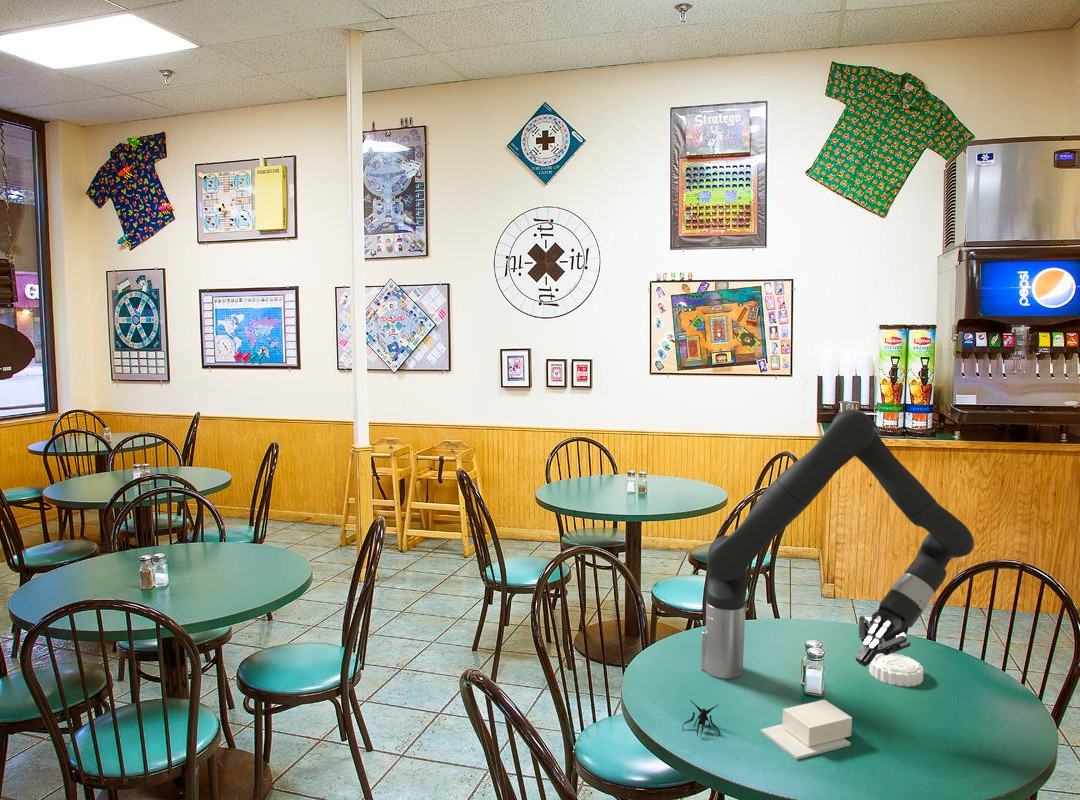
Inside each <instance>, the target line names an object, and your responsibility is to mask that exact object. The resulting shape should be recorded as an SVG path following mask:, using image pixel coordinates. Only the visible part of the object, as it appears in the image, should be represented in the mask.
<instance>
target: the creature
mask: <svg viewBox="0 0 1080 800" xmlns="http://www.w3.org/2000/svg"><path fill="white" fill-rule="evenodd" d="M690 702H691V703H692V704H693V705H694V706H695V707H696V709H697V710H698V711H699V715H698V716H697V718H696V719H695V714H696V713H695V712H694V711H693V712H692V716H691V718H690V719H688V720H687V721H685V722H684V723H683V724H682V727H681V728H682V731H684V732H686V730H685V729H684V725H685V724H687V723H691V722H693V721H694V719H695V723H694V725H692V727H693V726H694V727H695V726H696V729H695V728H693V729H692V731H696V737H698V734H699V729H700V726H701V730H700V736H702V733H703V731H704V726H706V722H708V727H709V729H710V730H709V731H707V733H709V734H710V735H711V736H713V734H712V733H711V730H712V728H711V725H712V726H713V727H714V728H716V730H717V731H718V735H717V736H716V738H718V737H719V736H720V735H721V730H720V729H719V728H718V726H717V725H716V724H715V723H713V720H712V715H711V714H710V715H709V713H710V712H712V710H714V709H715V708H716V707H718V706H719V704H717V705H715V706H713V707H710V708H709V709H707V710H706V708H700V706H698V705H697V704H696V703H695V702H693V701H692V700H690ZM708 715H709V717H708ZM698 719H699V720H698ZM690 731H691V729H689V730H688V732H690Z"/></svg>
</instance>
